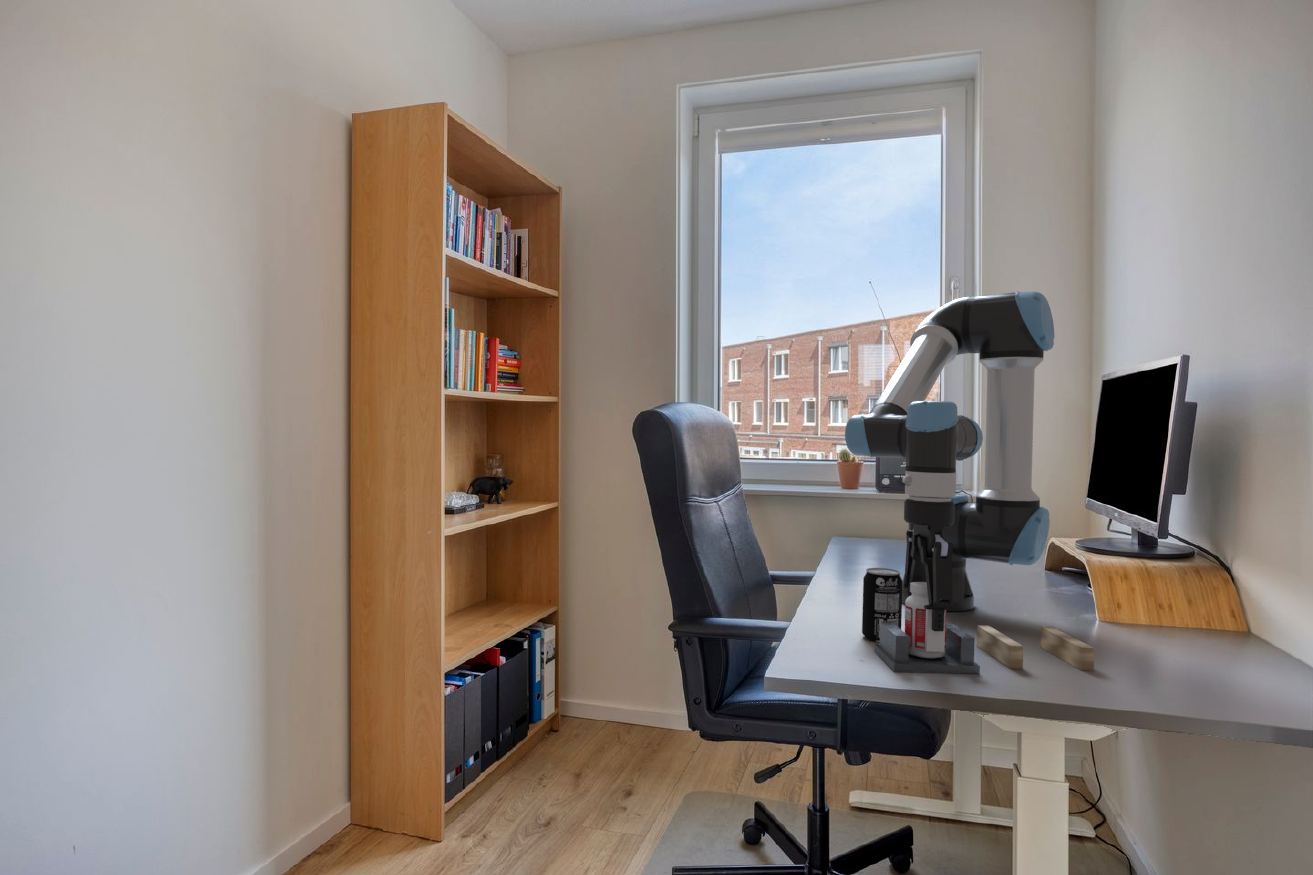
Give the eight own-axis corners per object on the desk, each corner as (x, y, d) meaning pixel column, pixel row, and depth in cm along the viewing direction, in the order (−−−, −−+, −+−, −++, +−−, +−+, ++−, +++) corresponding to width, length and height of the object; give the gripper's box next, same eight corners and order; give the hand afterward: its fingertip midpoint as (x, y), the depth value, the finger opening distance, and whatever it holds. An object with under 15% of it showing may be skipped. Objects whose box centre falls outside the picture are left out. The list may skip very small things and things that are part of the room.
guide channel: (976, 645, 127) (977, 625, 127) (1052, 647, 127) (1053, 627, 127) (1009, 668, 115) (1010, 646, 115) (1093, 670, 115) (1094, 648, 115)
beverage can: (873, 631, 134) (875, 565, 134) (907, 639, 130) (909, 571, 129) (854, 637, 130) (856, 570, 130) (889, 646, 125) (891, 575, 125)
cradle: (874, 651, 122) (875, 620, 122) (953, 653, 122) (954, 622, 122) (893, 671, 112) (894, 637, 112) (979, 673, 112) (980, 639, 112)
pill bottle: (954, 656, 116) (955, 585, 116) (929, 661, 112) (930, 588, 113) (920, 646, 121) (921, 579, 121) (896, 651, 118) (897, 582, 118)
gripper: (886, 492, 126) (882, 625, 127) (928, 504, 106) (924, 662, 107) (930, 493, 126) (926, 626, 127) (980, 506, 106) (976, 664, 107)
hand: (925, 643), depth 117 cm, fingers open, 7 cm apart
